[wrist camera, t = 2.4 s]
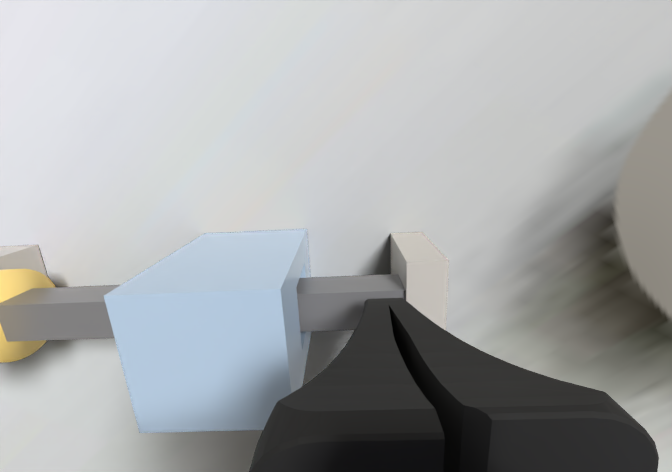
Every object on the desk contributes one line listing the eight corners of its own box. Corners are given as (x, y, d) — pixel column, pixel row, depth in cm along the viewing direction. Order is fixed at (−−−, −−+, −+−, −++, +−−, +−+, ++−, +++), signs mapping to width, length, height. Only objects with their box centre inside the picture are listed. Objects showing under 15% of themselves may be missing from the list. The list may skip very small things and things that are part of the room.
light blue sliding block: (306, 228, 15) (280, 289, 9) (313, 318, 17) (295, 429, 10) (204, 233, 16) (103, 295, 9) (218, 321, 17) (139, 432, 10)
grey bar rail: (422, 228, 15) (457, 263, 11) (420, 311, 16) (451, 377, 12) (-3, 246, 16) (-149, 288, 11) (23, 325, 17) (-98, 393, 12)
